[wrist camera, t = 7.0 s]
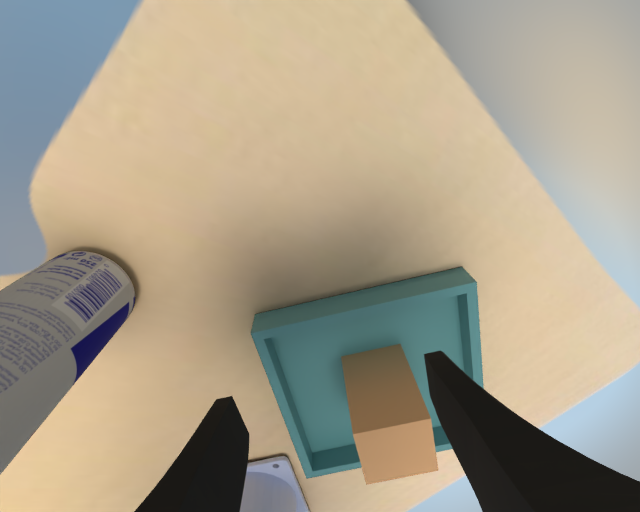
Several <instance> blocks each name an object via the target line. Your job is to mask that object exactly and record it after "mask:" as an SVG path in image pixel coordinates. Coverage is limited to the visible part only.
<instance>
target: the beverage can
mask: <svg viewBox="0 0 640 512" xmlns="http://www.w3.org/2000/svg"><path fill="white" fill-rule="evenodd" d="M134 304H135V291H134V287H133V284H132V282H131V280H130V278H129V277H128V275H127V274H126V272H125V271H124V270H123V269H122V268H121V267H120V266H119V265H117V264H116V263H115V262H113V261H112V260H110V259H108V258H107V257H104V256H102V255H100V254H96V253H93V252H87V251H72V252H67V253H64V254H61V255H59V256H57V257H55V258H53V259H51V260H49V261H48V262H46V263H44V264H43V265H41V266H40V267H38V268H36V269H35V270H33V271H31V272H30V273H28V274H27V275H25V276H23V277H22V278H20V279H19V280H17V281H15V282H14V283H12V284H11V285H9V286H7V287H6V288H4V289H2V290H1V291H0V474H1V473H2V472H3V471H4V469H5V468H6V467H7V466H8V464H9V463H10V462H11V461H12V460H13V458H14V457H15V456H16V455H17V453H18V452H19V451H20V450H21V449H22V447H23V446H24V445H25V444H26V442H27V441H28V440H29V439H30V437H31V436H32V435H33V434H34V433H35V431H36V430H37V429H38V428H39V426H40V425H41V424H42V423H43V421H44V420H45V419H46V418H47V417H48V415H49V414H50V413H51V412H52V410H53V409H54V408H55V407H56V405H57V404H58V403H59V402H60V401H61V399H62V398H63V397H64V396H65V394H66V393H67V392H68V391H69V390H70V388H71V387H72V386H73V385H74V383H75V382H76V381H77V380H78V378H79V377H80V376H81V375H82V374H83V372H84V371H85V370H86V369H87V367H88V366H89V365H90V364H91V362H92V361H93V360H94V359H95V358H96V356H97V355H98V354H99V353H100V351H101V350H102V349H103V348H104V346H105V345H106V344H107V343H108V342H109V340H110V339H111V338H112V337H113V335H114V334H115V333H116V332H117V331H118V329H119V328H120V327H121V326H122V324H123V323H124V322H125V321H126V319H127V318H128V317H129V315H130V313H131V312H132V310H133V307H134Z"/></svg>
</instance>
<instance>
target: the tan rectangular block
mask: <svg viewBox="0 0 640 512" xmlns="http://www.w3.org/2000/svg"><path fill="white" fill-rule="evenodd" d="M341 360H342V366H343V373H344V380H345V386H346V393H347V399H348V406H349V412H350V419H351V425H352V432H353V437H354V440H355V444H356V448H357V451H358V455H359V459H360V463H361V466H362V470H363V474H364V477H365V481H366V485H367V484H372V483H377V482H382V481H387V480H392V479H397V478H403V477H408V476H413V475H418V474H423V473H428V472H433V471H438V464H437V457H436V450H435V443H434V436H433V429H432V422H431V417H430V415H429V412H428V410H427V407H426V405H425V402H424V400H423V398H422V395H421V393H420V390H419V388H418V385H417V383H416V380H415V378H414V376H413V373H412V371H411V368H410V366H409V363H408V361H407V358H406V356H405V353H404V351H403V349H402V346H401V344H397V345H392V346H388V347H383V348H378V349H374V350H369V351H364V352H360V353H355V354H350V355H346V356H341Z"/></svg>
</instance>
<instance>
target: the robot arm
mask: <svg viewBox="0 0 640 512" xmlns="http://www.w3.org/2000/svg"><path fill="white" fill-rule="evenodd" d="M424 359H425V366H426V373H427V379H428V386H429V393H430V397H431V400H432V403H433V405H434V408H435V411H436V414H437V416H438V419H439V421H440V424H441V426H442V428H443V430H444V432H445V434H446V436H447V438H448V440H449V442H450V444H451V446H452V448H453V450H454V452H455V454H456V456H457V458H458V460H459V462H460V464H461V466H462V468H463V470H464V472H465V474H466V476H467V478H468V480H469V482H470V484H471V486H472V488H473V490H474V492H475V494H476V497H477V499H478V501H479V503H480V506H481V508H482V511H483V512H640V482H639V481H637V480H634V479H632V478H630V477H628V476H625V475H623V474H620V473H619V472H616V471H614V470H612V469H610V468H608V467H606V466H604V465H602V464H600V463H598V462H596V461H594V460H592V459H590V458H588V457H586V456H584V455H583V454H581V453H579V452H577V451H576V450H574V449H572V448H570V447H568V446H566V445H564V444H563V443H561V442H559V441H557V440H556V439H554V438H552V437H551V436H549V435H548V434H546V433H544V432H543V431H541V430H539V429H538V428H536V427H535V426H533V425H532V424H530V423H529V422H527V421H526V420H524V419H523V418H521V417H520V416H518V415H517V414H516V413H514V412H513V411H511V410H510V409H509V408H507V407H506V406H505V405H503V404H502V403H501V402H499V401H498V400H497V399H495V398H494V397H493V396H492V395H490V394H489V393H488V392H487V391H485V390H484V389H483V388H482V387H481V386H479V385H478V384H477V383H476V382H475V381H474V380H472V379H471V378H470V377H469V376H468V375H467V374H466V373H465V372H463V371H462V370H461V369H460V368H459V367H458V366H457V365H456V364H455V363H454V362H453V361H452V360H451V359H450V358H449V357H448V356H447V355H446V354H445V353H444V352H442V351H441V350H440V351H436V352H431V353H427V354H424ZM248 453H249V433H248V430H247V428H246V426H245V424H244V422H243V419H242V417H241V415H240V413H239V410H238V408H237V406H236V404H235V402H234V399H233V397H232V396H230V397H226V398H221V399H217V400H216V401H215V402H214V404H213V405H212V407H211V408H210V410H209V411H208V413H207V414H206V416H205V417H204V419H203V420H202V422H201V423H200V425H199V426H198V428H197V430H196V431H195V433H194V434H193V436H192V437H191V438H190V440H189V441H188V443H187V444H186V446H185V447H184V449H183V450H182V452H181V453H180V455H179V456H178V457H177V459H176V460H175V461H174V463H173V464H172V465H171V467H170V468H169V469H168V471H167V472H166V474H165V475H164V476H163V478H162V479H161V480H160V481H159V483H158V484H157V485H156V487H155V488H154V489H153V490H152V491H151V493H150V494H149V495H148V496H147V497H146V499H145V500H144V501H143V502H142V503H141V505H140V506H139V507H138V508H137V509H136V510H135V511H134V512H310V511H309V509H308V506H307V504H306V501H305V499H304V496H303V494H302V491H301V489H300V486H299V484H298V481H297V479H296V476H295V474H294V471H293V469H292V466H291V464H290V462H289V459H288V458H287V457H285V456H279V457H275V458H270V459H265V460H260V461H255V462H251V463H248Z"/></svg>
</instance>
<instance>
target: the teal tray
mask: <svg viewBox="0 0 640 512" xmlns="http://www.w3.org/2000/svg"><path fill="white" fill-rule="evenodd" d="M251 335H252V338H253V340H254V343H255V346H256V348H257V351H258V353H259V356H260V359H261V361H262V364H263V366H264V369H265V372H266V374H267V377H268V379H269V382H270V385H271V387H272V390H273V392H274V395H275V398H276V400H277V403H278V405H279V408H280V411H281V413H282V416H283V418H284V421H285V424H286V426H287V429H288V431H289V434H290V436H291V439H292V442H293V444H294V447H295V449H296V452H297V455H298V457H299V460H300V462H301V465H302V468H303V470H304V473H305V475H306V478H312V477H317V476H322V475H327V474H331V473H336V472H341V471H346V470H351V469H356V468H361V467H362V466H361V463H360V459H359V455H358V451H357V448H356V444H355V440H354V437H353V432H352V425H351V419H350V412H349V406H348V399H347V393H346V386H345V380H344V373H343V366H342V360H341V356H346V355H350V354H355V353H360V352H364V351H369V350H374V349H378V348H383V347H388V346H392V345H397V344H401V346H402V349H403V351H404V353H405V356H406V358H407V361H408V363H409V366H410V368H411V371H412V373H413V376H414V378H415V380H416V383H417V385H418V388H419V390H420V393H421V395H422V398H423V400H424V402H425V405H426V407H427V410H428V412H429V415H430V417H431V422H432V429H433V436H434V443H435V450H436V452H439V451H444V450H449V449H453V448H452V446H451V444H450V442H449V440H448V438H447V436H446V434H445V432H444V430H443V428H442V426H441V424H440V421H439V419H438V416H437V414H436V411H435V408H434V405H433V403H432V400H431V397H430V393H429V386H428V379H427V373H426V366H425V359H424V354H427V353H431V352H436V351H440V350H441V351H442V352H444V353H445V354H446V355H447V356H448V357H449V358H450V359H451V360H452V361H453V362H454V363H455V364H456V365H457V366H458V367H459V368H460V369H461V370H462V371H463V372H465V373H466V374H467V375H468V376H469V377H470V378H471V379H472V380H474V381H475V382H476V383H477V384H478V385H479V386H481V387H482V388H483V373H482V357H481V342H480V327H479V311H478V296H477V282H476V281H475V280H474V279H473V278H472V277H471V276H470V275H469V274H468V273H467V272H466V270H465V269H464V268H463V267H459V268H454V269H450V270H446V271H441V272H437V273H433V274H428V275H424V276H420V277H415V278H411V279H407V280H402V281H398V282H394V283H389V284H385V285H381V286H376V287H372V288H368V289H363V290H359V291H355V292H350V293H346V294H342V295H337V296H333V297H328V298H324V299H320V300H315V301H311V302H307V303H302V304H298V305H294V306H289V307H285V308H281V309H276V310H272V311H268V312H263V313H259V314H255V317H254V321H253V326H252V330H251ZM483 389H484V388H483Z"/></svg>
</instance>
